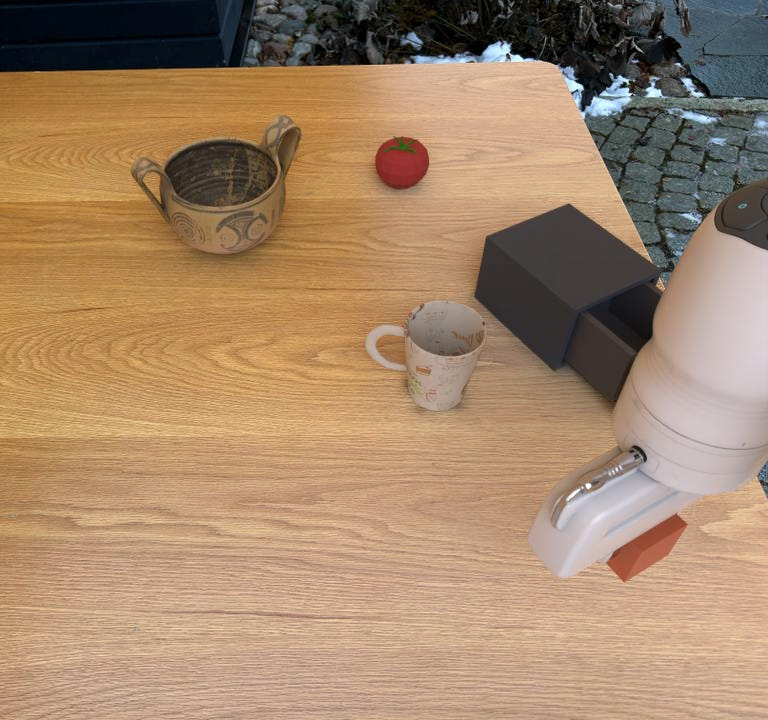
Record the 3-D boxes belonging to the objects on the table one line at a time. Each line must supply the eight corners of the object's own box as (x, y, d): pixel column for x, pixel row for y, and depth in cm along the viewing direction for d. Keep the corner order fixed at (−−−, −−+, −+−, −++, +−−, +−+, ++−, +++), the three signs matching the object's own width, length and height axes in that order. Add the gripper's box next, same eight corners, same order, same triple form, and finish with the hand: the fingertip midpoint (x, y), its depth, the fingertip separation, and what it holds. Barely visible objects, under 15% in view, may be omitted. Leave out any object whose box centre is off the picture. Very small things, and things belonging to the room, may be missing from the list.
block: (623, 510, 59) (640, 478, 56) (668, 555, 56) (688, 524, 53) (580, 536, 58) (594, 504, 55) (623, 583, 55) (641, 553, 52)
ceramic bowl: (274, 184, 112) (269, 89, 101) (328, 246, 102) (328, 149, 91) (133, 228, 106) (111, 133, 95) (174, 299, 95) (155, 201, 84)
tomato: (365, 174, 113) (367, 128, 108) (411, 162, 115) (416, 117, 109) (387, 202, 108) (391, 156, 102) (436, 190, 110) (442, 144, 104)
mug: (466, 427, 80) (480, 364, 73) (352, 401, 83) (355, 338, 76) (478, 372, 85) (492, 308, 78) (371, 349, 88) (375, 286, 81)
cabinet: (635, 332, 89) (662, 270, 82) (553, 371, 85) (574, 310, 78) (551, 263, 98) (569, 202, 91) (473, 297, 94) (485, 235, 87)
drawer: (733, 407, 79) (764, 358, 74) (654, 451, 76) (681, 402, 70) (609, 308, 90) (629, 258, 84) (536, 342, 87) (551, 293, 81)
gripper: (603, 535, 41) (552, 638, 51) (849, 389, 47) (760, 507, 57) (526, 454, 45) (492, 564, 55) (762, 328, 51) (693, 449, 61)
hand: (630, 534), depth 56 cm, fingers closed on block, 4 cm apart
